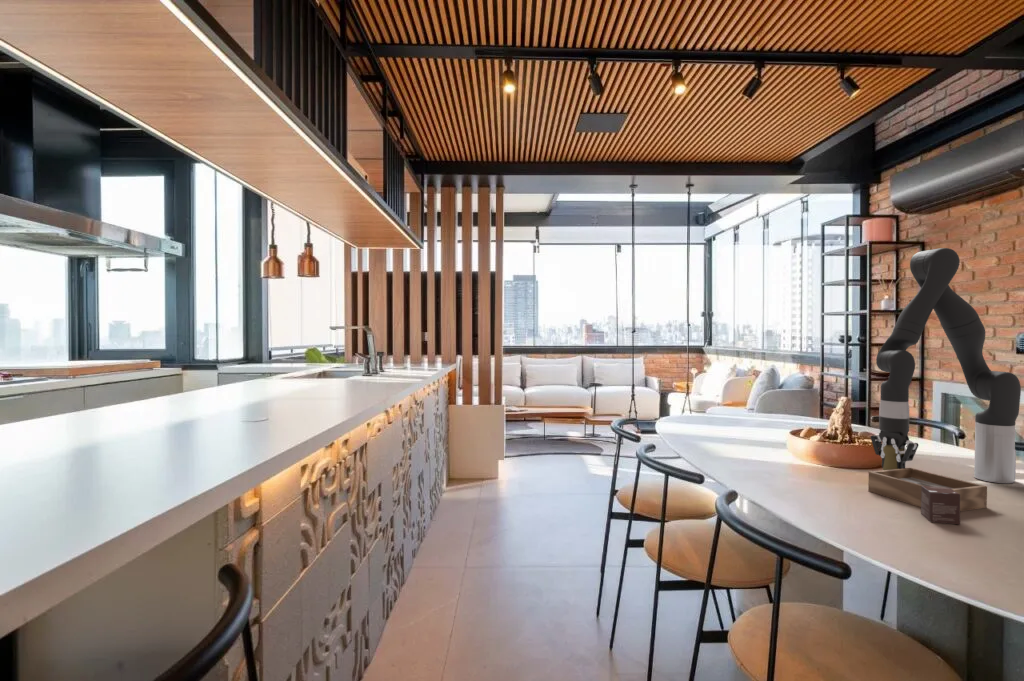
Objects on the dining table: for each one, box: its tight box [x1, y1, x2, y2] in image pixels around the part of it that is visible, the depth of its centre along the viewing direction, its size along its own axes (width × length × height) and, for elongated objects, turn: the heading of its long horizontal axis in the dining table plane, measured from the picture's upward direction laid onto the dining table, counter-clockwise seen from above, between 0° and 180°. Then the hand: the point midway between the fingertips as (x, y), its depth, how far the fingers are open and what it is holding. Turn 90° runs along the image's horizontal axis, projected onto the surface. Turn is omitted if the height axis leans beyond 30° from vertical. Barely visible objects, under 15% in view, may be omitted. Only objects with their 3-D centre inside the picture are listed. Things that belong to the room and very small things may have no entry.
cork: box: [882, 445, 904, 470], centre depth 167 cm, size 6×6×11 cm
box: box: [920, 486, 961, 525], centre depth 133 cm, size 6×6×7 cm
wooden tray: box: [867, 467, 988, 512], centre depth 149 cm, size 16×20×6 cm
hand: (893, 471), depth 167 cm, fingers closed on cork, 3 cm apart
